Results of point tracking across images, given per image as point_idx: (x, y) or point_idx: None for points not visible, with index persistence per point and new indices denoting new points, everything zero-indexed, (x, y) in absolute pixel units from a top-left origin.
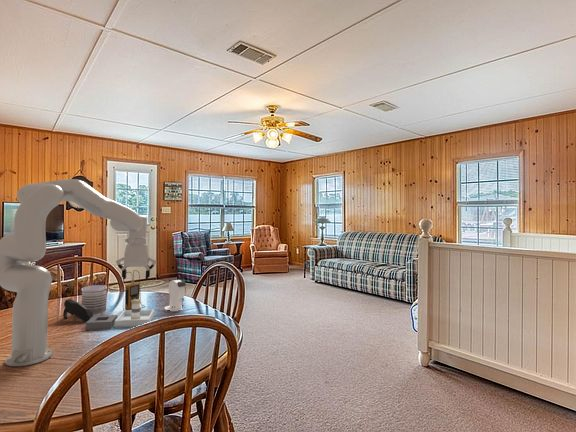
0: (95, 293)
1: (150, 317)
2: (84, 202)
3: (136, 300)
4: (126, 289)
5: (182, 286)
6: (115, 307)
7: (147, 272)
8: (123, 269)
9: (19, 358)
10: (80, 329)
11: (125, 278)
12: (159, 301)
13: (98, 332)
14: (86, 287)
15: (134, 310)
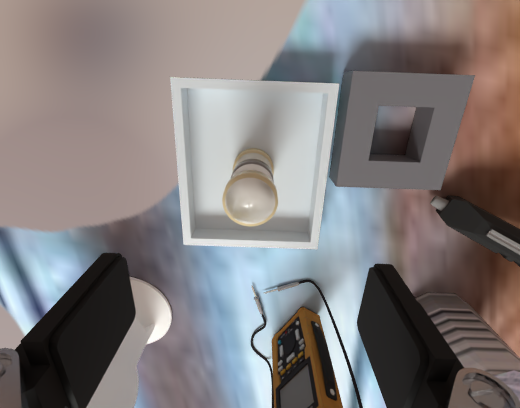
0: (479, 365)
1: (176, 131)
2: None
3: (246, 192)
4: (334, 392)
5: None
6: (357, 349)
7: (50, 324)
8: (465, 393)
9: None
10: (472, 88)
11: (363, 299)
12: (211, 391)
13: (394, 20)
14: None
15: (255, 161)
